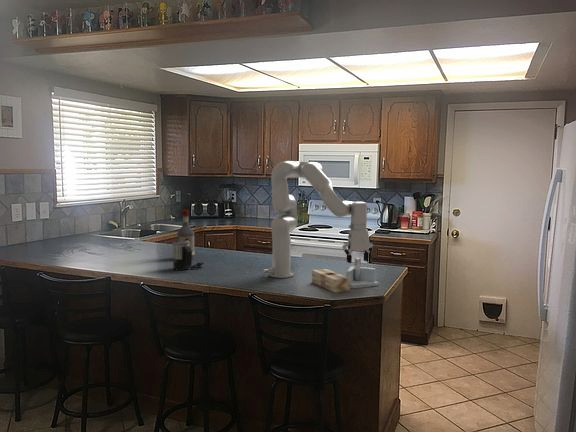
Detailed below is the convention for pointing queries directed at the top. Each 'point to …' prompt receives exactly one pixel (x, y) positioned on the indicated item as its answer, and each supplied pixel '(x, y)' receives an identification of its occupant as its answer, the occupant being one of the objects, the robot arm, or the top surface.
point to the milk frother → (182, 256)
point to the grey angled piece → (362, 277)
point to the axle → (357, 269)
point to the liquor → (186, 232)
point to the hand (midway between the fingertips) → (357, 261)
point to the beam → (331, 280)
